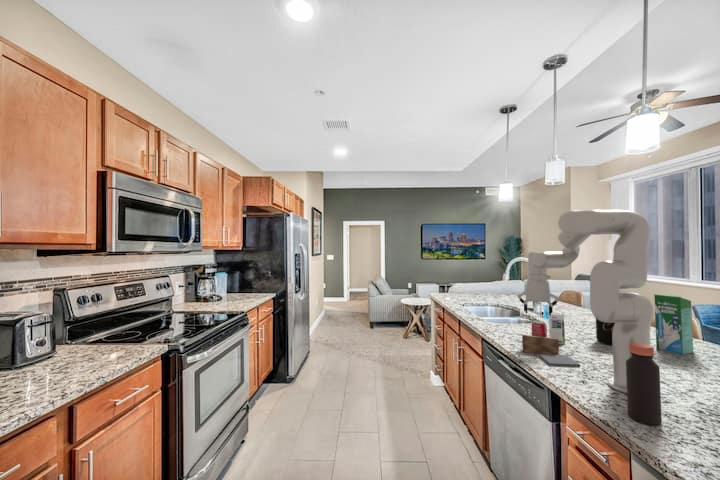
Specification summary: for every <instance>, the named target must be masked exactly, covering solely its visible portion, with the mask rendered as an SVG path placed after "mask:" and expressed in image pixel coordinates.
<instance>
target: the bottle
mask: <svg viewBox="0 0 720 480" xmlns="http://www.w3.org/2000/svg"><path fill="white" fill-rule="evenodd" d="M630 353H631V354H632V357H630V358H629V359H628V360H626V377H627V393H626V397H627V398H626V399H627V401H626V402H627V415H628V417H629V418H630V419H632V420H633V421H634V422H637V423H639V424H643V425H647V426H652V427H654V426H655V427H656V426H657V427H658V426H660V425H662V422H663V421H662V418H663V417H662V397H661V394H662V393H661V373H660V371H661V370H660V366H659V365H658V363H657V362H656V361H654V360H653V358H654V357H655V347H654V346H653V345H651V344H650V345H648V344H643V343H630Z"/></svg>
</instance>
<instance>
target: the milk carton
mask: <svg viewBox="0 0 720 480" xmlns="http://www.w3.org/2000/svg"><path fill="white" fill-rule="evenodd" d="M653 296H654V298H653V299H654V318H655V319H654V320H655V323H654V324H655V340H656V341H655V345H656V347H655V348H656V349H657V350H660V351H665V352H668V353H673V354H676V355H687V354H691V353H694V339H693V336H694V334H693V315H692V314H693V312H692V300H689V299H686V298H685V297H684V298H683V297H682V296H680V295H676V294H668V295H664V294H663V295H662V294H653Z"/></svg>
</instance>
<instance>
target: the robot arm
mask: <svg viewBox="0 0 720 480" xmlns="http://www.w3.org/2000/svg"><path fill="white" fill-rule="evenodd" d="M557 226H558V228H559V229H560V231H561V232H559V233H558V236H557V239H558V242H559V244H561V245H562V246H563V247H564V248H563V249H562V250H560V251H529V252H528V254H527V259H528V261H527V263H528V265H527V266H528V269H527V270H528V279H526V283H525V291H523V292H521V293H518V294H517V295H516V296H517V298H518V300H519V302H521V303H522V304H523V311H524V312H525V314H528V303H529V302H533V303H535V302H536V303H547V304H548V316H549V315H550V316H551V313H552V314H553V312H554V311H553V308H554V306H556V305H557V303H558V302H559V301H560V297H559V296H557V295H556V294H553V293H551V290H550V289H551V287H550V281H549V279H551V275H548V274H547V273H548V272H547V269H563V268H567V267H568V266H570V265H571V264H572V263H574V262H575V261H576V260H577V259H578V257H579V255H580V248H581V247H580V246H581V245H582V244H583V243H584V242H585V241H586V240H587V239H588V238H590V237H591V236H592V235H596V236H597V235H617V236H618V238H617V239H616V241H615V243H614V246H613V258H612V260H602V261H600V262H597V263H596V264H595V265H594V266H593V267H592V269H591V271H590V274H589V275H590V277H589V278H590V279H589V305H590V306H589V307H590V311H591V313H592V316H594V318H595V320H596V319H598V320H599V321H602V322H606V323H615V324H614V327H613V331H612V345H611V346H612V366H613V377H611V378H609V379H607V384H608V386H610V387H611V389H612V388H613V389H614V390H616V391H618V392H621V393H625V394H627V377H626V360H628V359H629V358H630V357H632V354H631V353H630V343H643V344H648V345H651V328H652V327H651V325H652V321H653V317H654V307H653V304H652V302H651V300H650V299H649V298H648V297H647V296H645V295H643V294H640V293H639V292H638V293H636V292H629V291H628V292H620V290H632V289H633V290H634V289H640V288H642V287H644V286H645V285H646V284H647V281H648V244H649V238H650V237H649V236H650V225H649V222H648V220H647V219H646V217H644V216H643V215H642V214H641V213H638V212H637V211H636V212H635V211H631V210H627V209H625V210H624V209H589V210H575V209H574V210H566V211H565V212H563V213H562V214H561V215H560V216H559V218H558V222H557ZM523 296H525V300H524V298H522V297H523ZM551 298H553V299H554V301H551Z"/></svg>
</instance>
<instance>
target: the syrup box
mask: <svg viewBox="0 0 720 480" xmlns="http://www.w3.org/2000/svg"><path fill="white" fill-rule="evenodd" d="M548 327H549V329H548V330H549V332H548V333H549V338H558V341H559V345H566V336H565V332H566V331H565V330H566V329H565V314H564V313H563V312H554V311H553V314H552V313H551V316H550V315H549V314H548Z"/></svg>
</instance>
